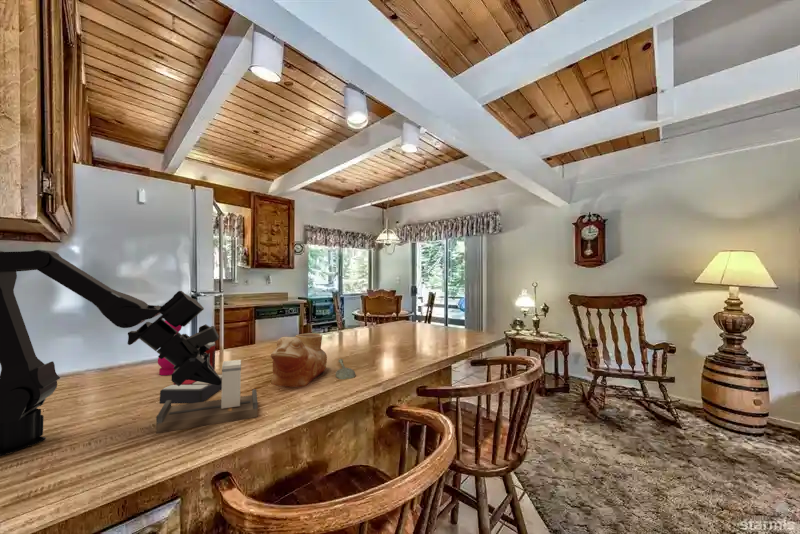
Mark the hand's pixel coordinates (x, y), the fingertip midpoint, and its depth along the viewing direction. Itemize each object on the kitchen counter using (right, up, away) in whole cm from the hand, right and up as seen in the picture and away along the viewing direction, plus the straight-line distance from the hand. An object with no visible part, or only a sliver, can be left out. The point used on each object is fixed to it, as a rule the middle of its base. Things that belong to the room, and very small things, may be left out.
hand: (220, 383), depth 81 cm
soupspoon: (+24, -9, +38) cm, 46 cm away
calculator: (-15, -8, +14) cm, 22 cm away
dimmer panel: (-2, -8, -1) cm, 8 cm away
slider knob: (+2, -5, +1) cm, 6 cm away
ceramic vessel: (+10, -9, +29) cm, 32 cm away
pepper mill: (-35, -8, +33) cm, 49 cm away
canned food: (-22, -8, +28) cm, 37 cm away
